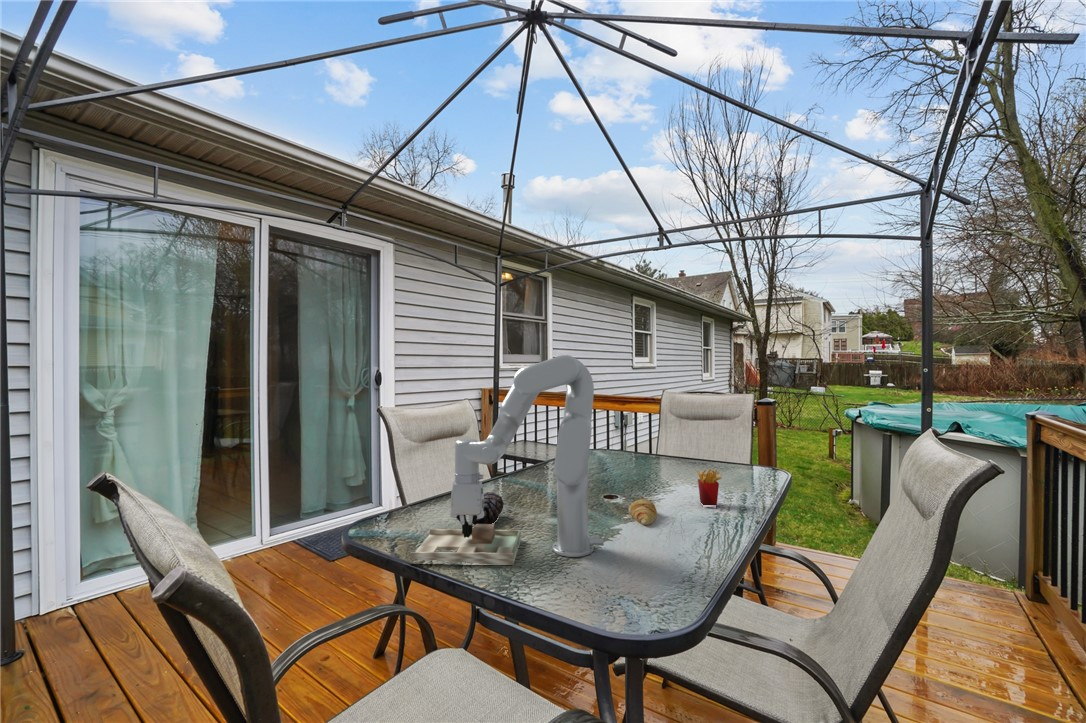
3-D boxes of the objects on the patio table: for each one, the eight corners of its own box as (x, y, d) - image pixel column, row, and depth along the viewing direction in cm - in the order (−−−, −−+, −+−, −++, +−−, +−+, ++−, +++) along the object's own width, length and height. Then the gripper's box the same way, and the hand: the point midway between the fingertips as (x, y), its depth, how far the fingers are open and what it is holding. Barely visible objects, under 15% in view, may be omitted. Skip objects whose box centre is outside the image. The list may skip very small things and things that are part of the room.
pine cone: (466, 530, 167) (466, 502, 166) (479, 514, 184) (479, 488, 184) (496, 531, 165) (495, 502, 165) (506, 515, 183) (506, 488, 183)
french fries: (697, 503, 194) (696, 466, 194) (718, 503, 193) (717, 466, 193) (703, 510, 185) (703, 471, 185) (725, 510, 184) (725, 471, 184)
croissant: (654, 537, 167) (665, 517, 167) (628, 523, 168) (639, 503, 167) (646, 516, 188) (656, 498, 188) (623, 504, 189) (633, 486, 188)
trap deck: (520, 540, 156) (520, 530, 156) (513, 566, 137) (513, 553, 137) (430, 539, 158) (430, 529, 158) (410, 564, 139) (410, 552, 139)
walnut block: (494, 536, 155) (494, 524, 155) (491, 543, 149) (491, 530, 149) (476, 536, 155) (476, 524, 155) (472, 543, 149) (472, 530, 149)
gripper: (492, 475, 156) (492, 532, 156) (446, 475, 157) (447, 531, 157) (488, 481, 148) (488, 541, 148) (440, 480, 149) (440, 540, 149)
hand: (467, 535), depth 152 cm, fingers closed
